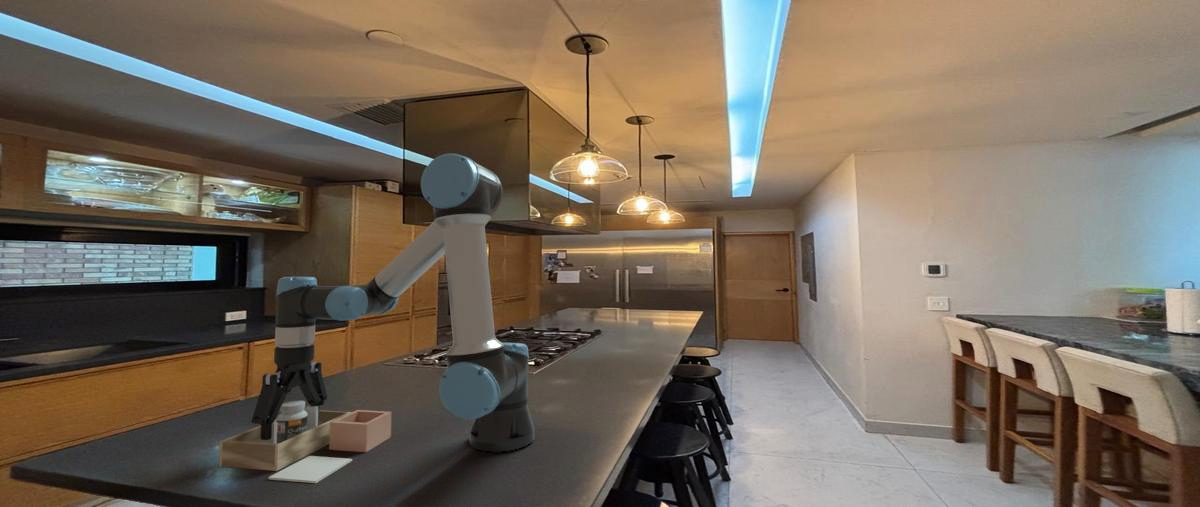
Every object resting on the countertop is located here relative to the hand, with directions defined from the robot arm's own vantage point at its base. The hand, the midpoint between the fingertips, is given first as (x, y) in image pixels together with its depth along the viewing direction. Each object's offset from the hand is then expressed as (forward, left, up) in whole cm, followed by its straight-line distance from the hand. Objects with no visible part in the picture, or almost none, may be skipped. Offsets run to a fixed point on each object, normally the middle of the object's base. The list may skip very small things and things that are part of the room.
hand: (291, 443), depth 100 cm
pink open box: (-14, -5, -1) cm, 14 cm away
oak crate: (0, 0, -1) cm, 1 cm away
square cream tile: (-13, +9, -1) cm, 16 cm away
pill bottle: (0, 0, -1) cm, 1 cm away
